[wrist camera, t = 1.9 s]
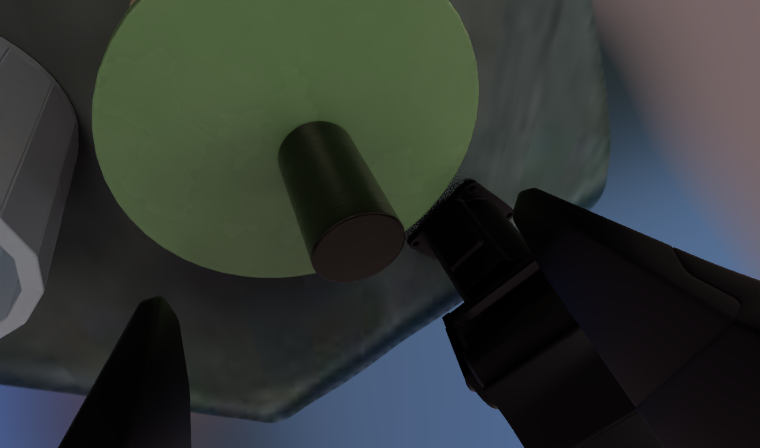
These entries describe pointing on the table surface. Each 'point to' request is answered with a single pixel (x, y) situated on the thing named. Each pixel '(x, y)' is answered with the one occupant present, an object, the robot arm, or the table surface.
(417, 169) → the lid
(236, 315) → the table surface
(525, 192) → the robot arm
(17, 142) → the cup
